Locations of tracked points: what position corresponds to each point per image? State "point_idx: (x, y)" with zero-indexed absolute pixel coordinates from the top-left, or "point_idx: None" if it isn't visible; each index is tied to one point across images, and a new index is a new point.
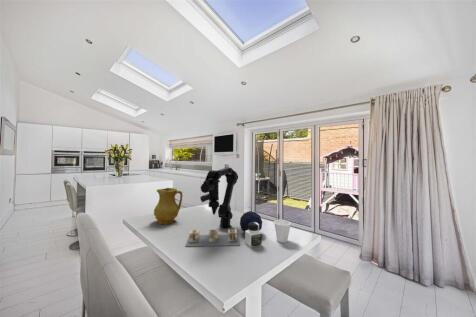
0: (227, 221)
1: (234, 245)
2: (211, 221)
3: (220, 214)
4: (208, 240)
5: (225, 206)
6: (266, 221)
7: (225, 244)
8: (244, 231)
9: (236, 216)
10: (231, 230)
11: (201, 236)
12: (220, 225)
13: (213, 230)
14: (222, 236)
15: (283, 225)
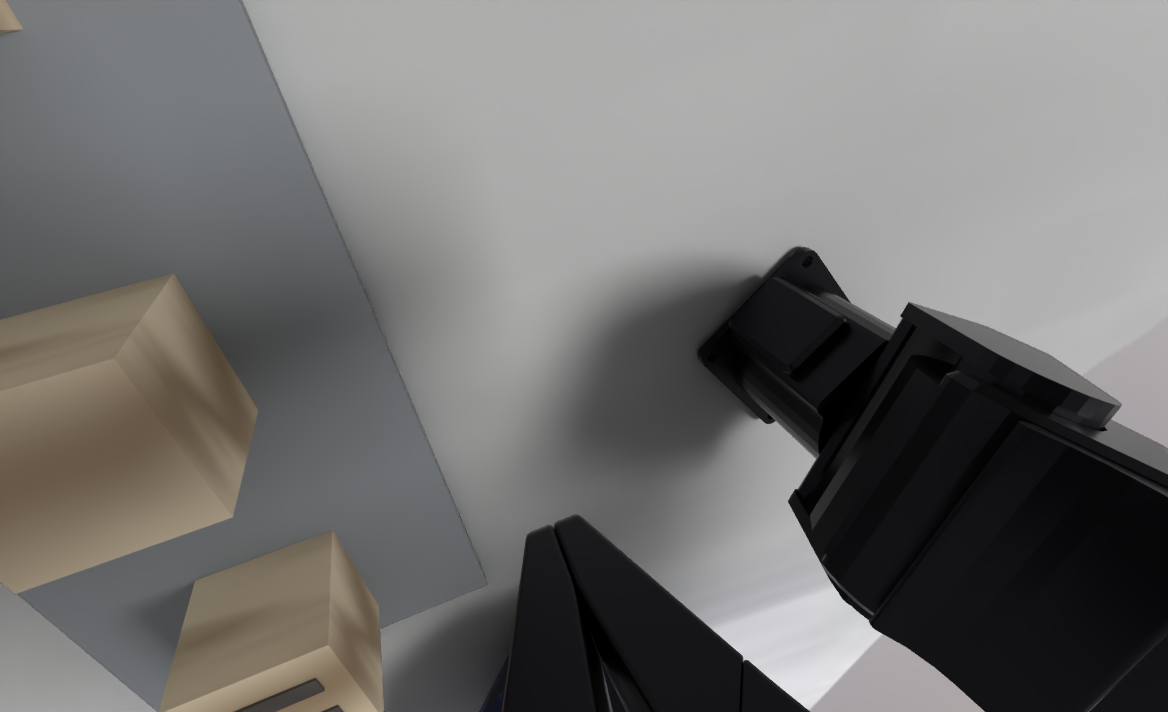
0: (791, 433)
1: (119, 670)
2: (1021, 31)
3: (895, 415)
4: (28, 297)
5: (1048, 687)
6: (873, 637)
7: (47, 596)
8: (494, 687)
9: (1085, 356)
10: (301, 698)
11: (165, 58)
12: (771, 287)
13: (113, 460)
14: (349, 451)
15: None
